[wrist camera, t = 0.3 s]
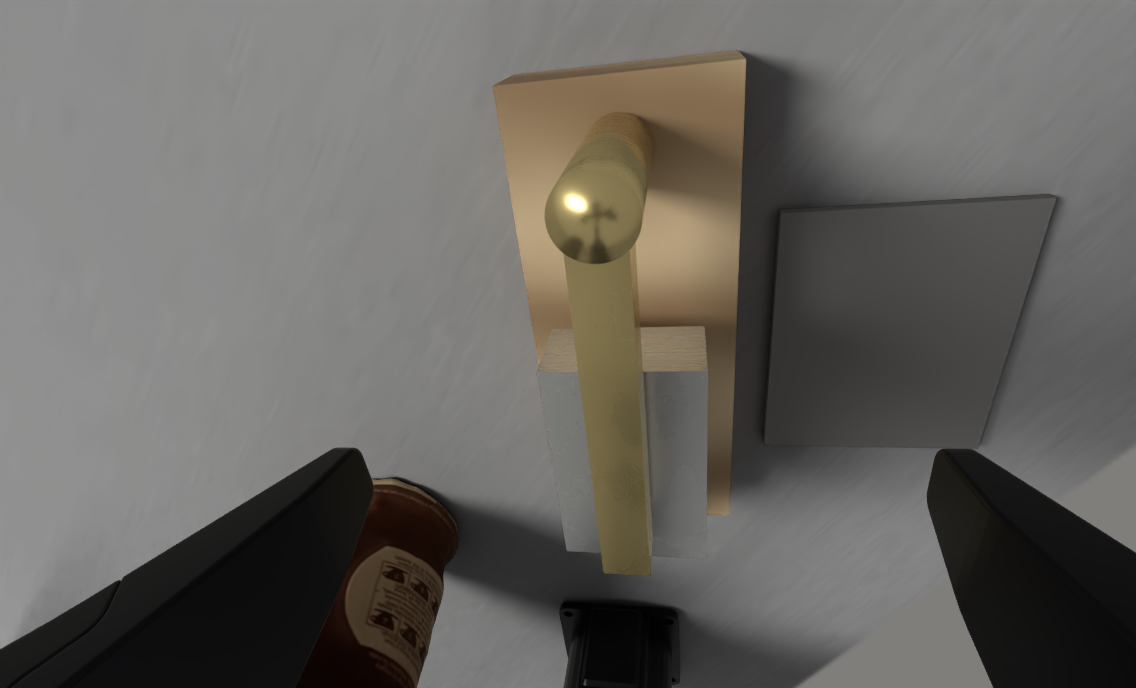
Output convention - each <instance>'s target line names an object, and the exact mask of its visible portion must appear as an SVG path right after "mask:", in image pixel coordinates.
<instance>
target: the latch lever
mask: <svg viewBox="0 0 1136 688" xmlns="http://www.w3.org/2000/svg"><path fill="white" fill-rule="evenodd" d="M652 155H653V139H652V136H651V133H650V131H649V129H648V127H647V126H646V125H645V123H644V122H643V121H642V120H640V119H639V118H638V117H636V116H634V115H632V114H629V113H625V112H614V113H610V114H607V115H605V116H603V117H601V118H600V119H598V120H597V121H596V122H595V123H594V124H593V125H592V127H591V128H590V130H589V131H588V133H587V134H586V136H585V138H584V139H583V141H582V142H581V144H580V146H579V147H578V149H577V150H576V152H575V154H574V155H573V157H572V158H571V160H570V162H569V163H568V165H567V166H566V168H565V170H564V171H563V173H562V174H561V176H560V178H559V179H558V181H557V182H556V184H555V186H554V187H553V189H552V191H551V192H550V194H549V196H548V199H547V202H546V206H545V214H544V216H545V224H546V229H547V231H548V234H549V236H550V238H551V240H552V241H553V243H554V244H555V245H556V247H557V248H558V249H559V250H560V251H561V252H563V255H564V263H565V271H566V279H567V287H568V295H569V303H570V311H571V319H572V327H573V335H574V343H575V351H576V358H577V366H578V374H579V382H580V390H581V398H582V406H583V414H584V422H585V430H586V438H587V446H588V454H589V462H590V469H591V477H592V485H593V493H594V501H595V509H596V517H597V525H598V533H599V541H600V549H601V557H602V565H603V572H604V573H607V574H624V575H640V576H651V557H652V535H653V532H652V515H651V498H650V481H649V464H648V447H647V430H646V413H645V395H644V378H643V361H642V344H641V327H640V310H639V293H638V276H637V259H636V241H637V239H638V236H639V234H640V231H641V227H642V221H643V214H644V208H645V201H646V194H647V188H648V181H649V175H650V168H651V162H652Z"/></svg>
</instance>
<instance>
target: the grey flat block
mask: <svg viewBox="0 0 1136 688" xmlns="http://www.w3.org/2000/svg"><path fill="white" fill-rule="evenodd" d="M641 344H642V361H643V378H644V395H645V413H646V430H647V447H648V464H649V481H650V498H651V515H652V532H653V535H652V556H665V557H684V558H702V559H706V531H707V416H708V366H707V353H706V340H705V327H704V326H681V327H641ZM537 378H538V384H539V390H540V396H541V402H542V408H543V414H544V419H545V425H546V431H547V437H548V443H549V449H550V455H551V461H552V467H553V473H554V478H555V484H556V490H557V496H558V502H559V508H560V514H561V520H562V526H563V532H564V537H565V543H566V549H567V551H575V552H593V553H601V549H600V541H599V533H598V525H597V517H596V509H595V501H594V493H593V485H592V477H591V469H590V462H589V454H588V446H587V438H586V430H585V422H584V414H583V406H582V398H581V390H580V382H579V374H578V366H577V358H576V351H575V343H574V335H573V329H552V331H551V334H550V337H549V340H548V342H547V345H546V348H545V350H544V353H543V356H542V359H541V361H540V364H539V367H538V369H537Z"/></svg>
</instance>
